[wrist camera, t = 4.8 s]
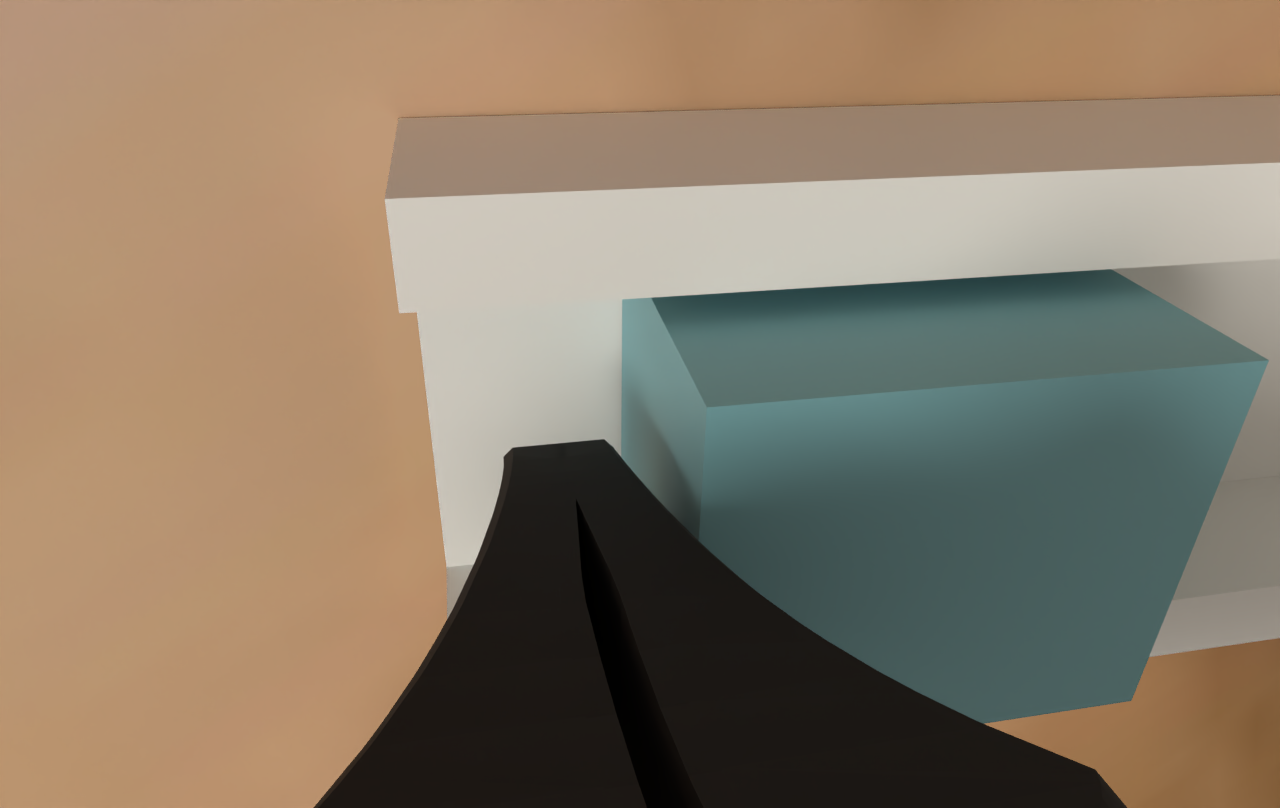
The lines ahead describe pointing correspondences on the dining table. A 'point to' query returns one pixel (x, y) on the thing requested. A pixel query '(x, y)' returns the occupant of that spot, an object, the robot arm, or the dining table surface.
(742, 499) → the block
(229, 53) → the dining table surface
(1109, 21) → the dining table surface
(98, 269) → the dining table surface
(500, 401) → the chute
